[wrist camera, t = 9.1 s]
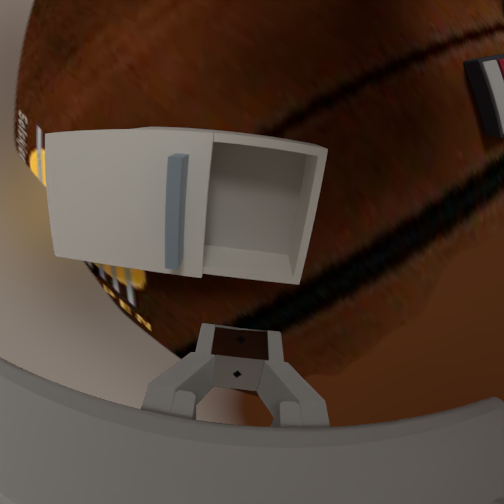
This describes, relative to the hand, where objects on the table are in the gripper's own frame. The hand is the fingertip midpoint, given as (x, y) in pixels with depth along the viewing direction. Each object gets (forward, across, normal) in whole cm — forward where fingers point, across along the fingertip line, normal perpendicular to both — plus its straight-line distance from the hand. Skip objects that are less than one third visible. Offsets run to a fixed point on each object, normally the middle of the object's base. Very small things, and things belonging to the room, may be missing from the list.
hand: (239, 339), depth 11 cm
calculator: (+24, -34, -24) cm, 48 cm away
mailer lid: (+17, +13, +1) cm, 21 cm away
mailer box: (+23, +3, +1) cm, 23 cm away
